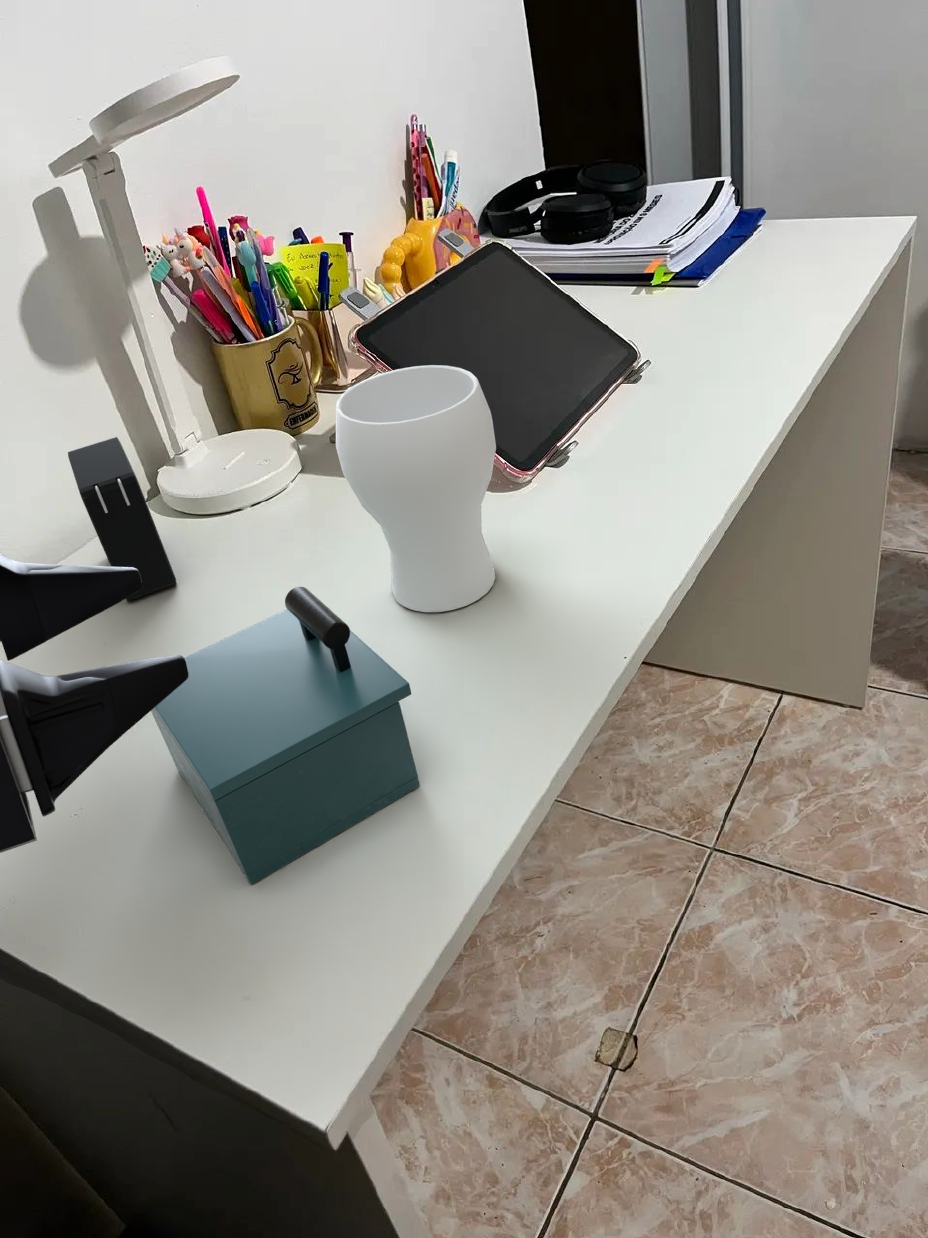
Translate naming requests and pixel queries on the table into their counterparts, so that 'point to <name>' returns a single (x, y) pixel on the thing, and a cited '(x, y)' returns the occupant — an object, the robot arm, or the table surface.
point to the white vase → (423, 478)
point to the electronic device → (121, 513)
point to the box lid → (275, 693)
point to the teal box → (308, 793)
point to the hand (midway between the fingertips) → (161, 618)
